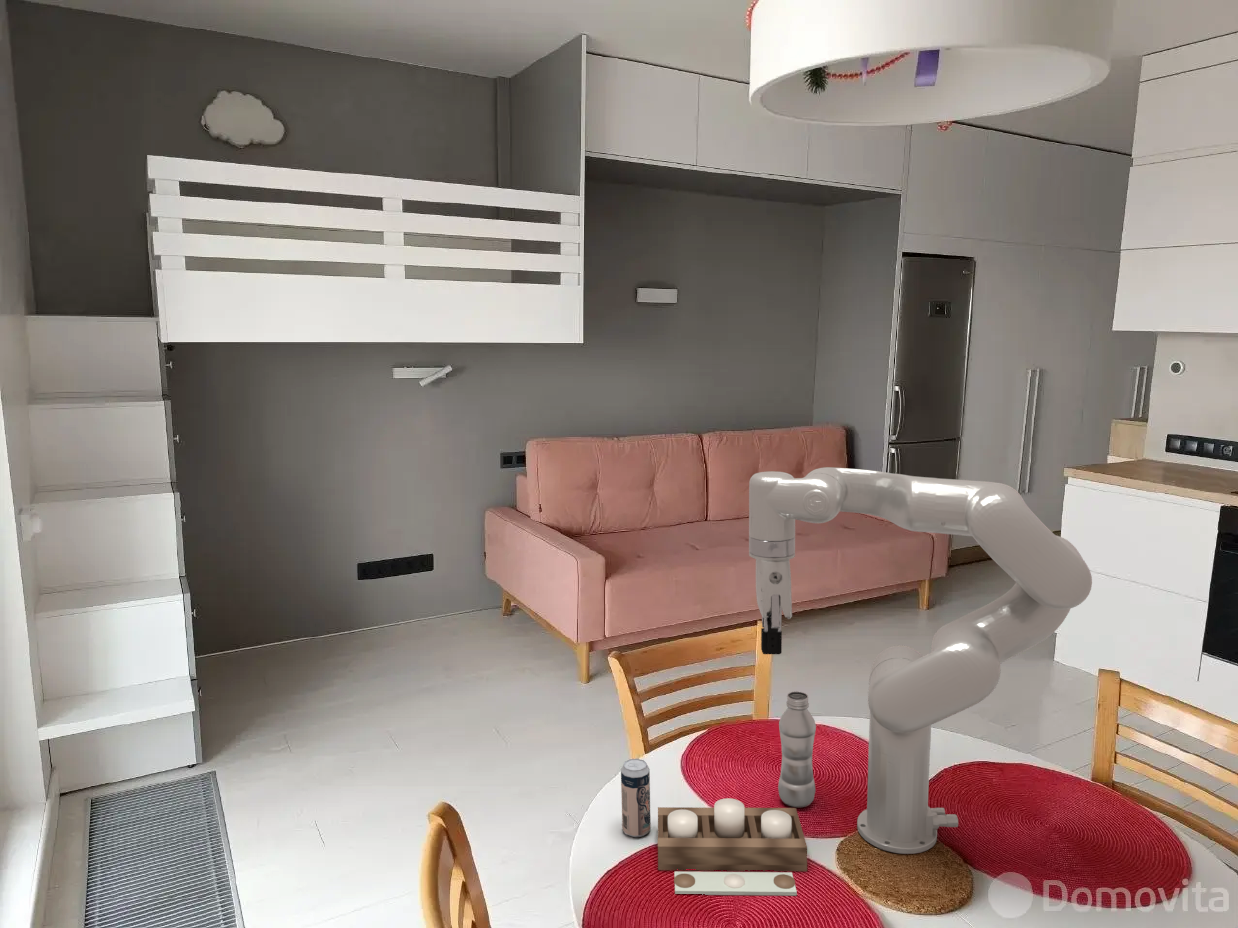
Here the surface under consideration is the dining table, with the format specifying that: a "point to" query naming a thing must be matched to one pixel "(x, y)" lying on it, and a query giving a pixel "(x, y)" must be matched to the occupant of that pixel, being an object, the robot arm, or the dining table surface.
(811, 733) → the plastic bottle
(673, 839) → the wooden compartment tray
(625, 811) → the beer can
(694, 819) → the button
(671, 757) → the dining table surface
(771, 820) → the button
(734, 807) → the button mid
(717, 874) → the card
